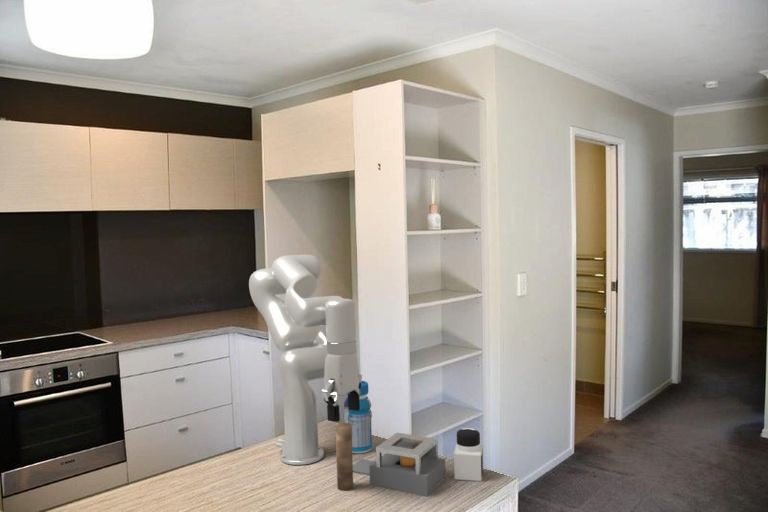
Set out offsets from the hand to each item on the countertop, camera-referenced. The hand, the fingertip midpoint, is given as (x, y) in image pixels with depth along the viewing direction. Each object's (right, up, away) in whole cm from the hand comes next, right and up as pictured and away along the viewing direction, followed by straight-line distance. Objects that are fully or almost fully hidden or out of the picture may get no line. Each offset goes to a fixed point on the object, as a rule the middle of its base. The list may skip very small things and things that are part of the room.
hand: (344, 415), depth 148 cm
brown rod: (0, -19, +1) cm, 19 cm away
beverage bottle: (+3, -18, +27) cm, 32 cm away
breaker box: (+16, -18, +4) cm, 25 cm away
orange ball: (+16, -16, +4) cm, 23 cm away
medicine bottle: (+33, -18, +7) cm, 38 cm away
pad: (+5, -18, +13) cm, 23 cm away
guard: (+16, -13, +4) cm, 21 cm away
